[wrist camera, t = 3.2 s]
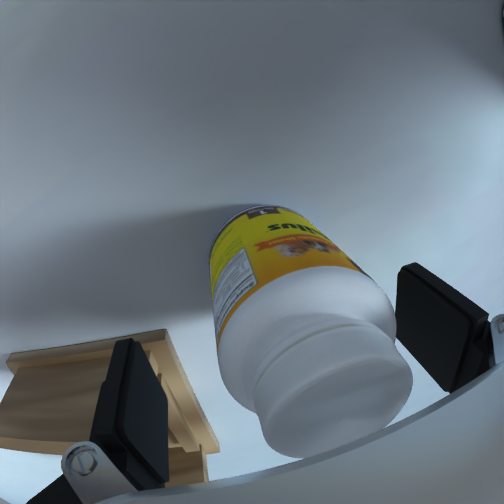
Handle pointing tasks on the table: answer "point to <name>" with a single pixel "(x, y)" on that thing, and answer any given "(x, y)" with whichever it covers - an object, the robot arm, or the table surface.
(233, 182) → the table surface
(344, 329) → the supplement bottle
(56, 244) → the table surface
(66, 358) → the holder
